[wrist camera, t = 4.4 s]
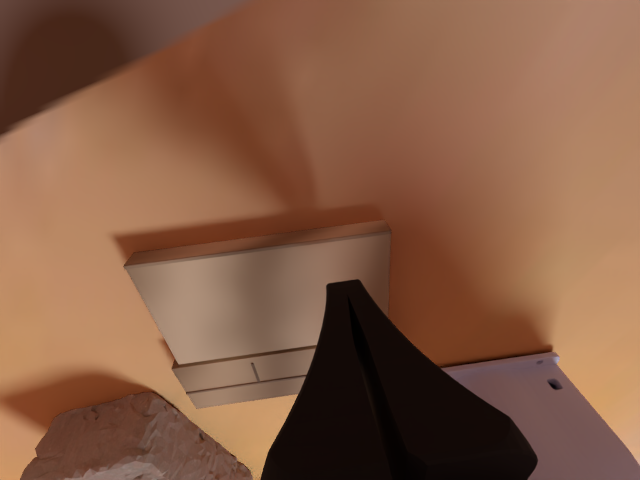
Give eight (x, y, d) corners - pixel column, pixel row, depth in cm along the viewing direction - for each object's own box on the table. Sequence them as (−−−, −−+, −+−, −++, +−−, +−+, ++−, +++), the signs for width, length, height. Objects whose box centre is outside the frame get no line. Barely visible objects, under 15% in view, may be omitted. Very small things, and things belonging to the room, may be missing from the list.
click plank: (383, 218, 15) (391, 230, 13) (382, 319, 18) (388, 335, 17) (135, 250, 14) (123, 266, 13) (184, 347, 18) (178, 365, 17)
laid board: (389, 321, 18) (396, 337, 17) (387, 363, 21) (393, 380, 20) (178, 351, 18) (171, 370, 17) (200, 391, 20) (196, 409, 19)
